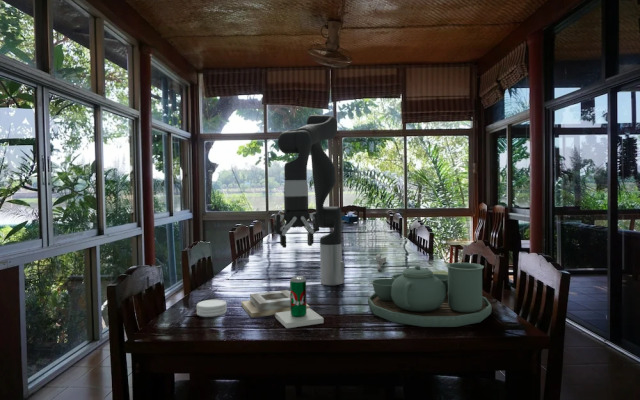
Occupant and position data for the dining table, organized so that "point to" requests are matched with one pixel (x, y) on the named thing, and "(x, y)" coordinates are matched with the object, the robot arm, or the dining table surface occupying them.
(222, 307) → the white ribbed disc
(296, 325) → the tile
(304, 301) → the soda can
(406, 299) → the tea set
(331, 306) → the dining table surface
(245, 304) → the socket board
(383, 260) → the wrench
